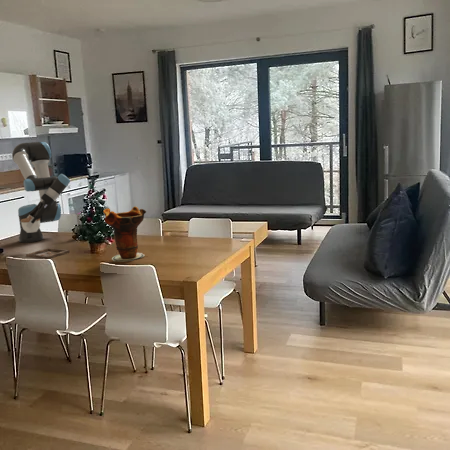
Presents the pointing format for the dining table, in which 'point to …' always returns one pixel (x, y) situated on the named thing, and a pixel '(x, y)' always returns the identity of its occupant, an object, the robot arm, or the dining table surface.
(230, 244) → the dining table surface
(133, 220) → the decorative vase
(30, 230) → the lidded jar
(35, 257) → the walnut frame
